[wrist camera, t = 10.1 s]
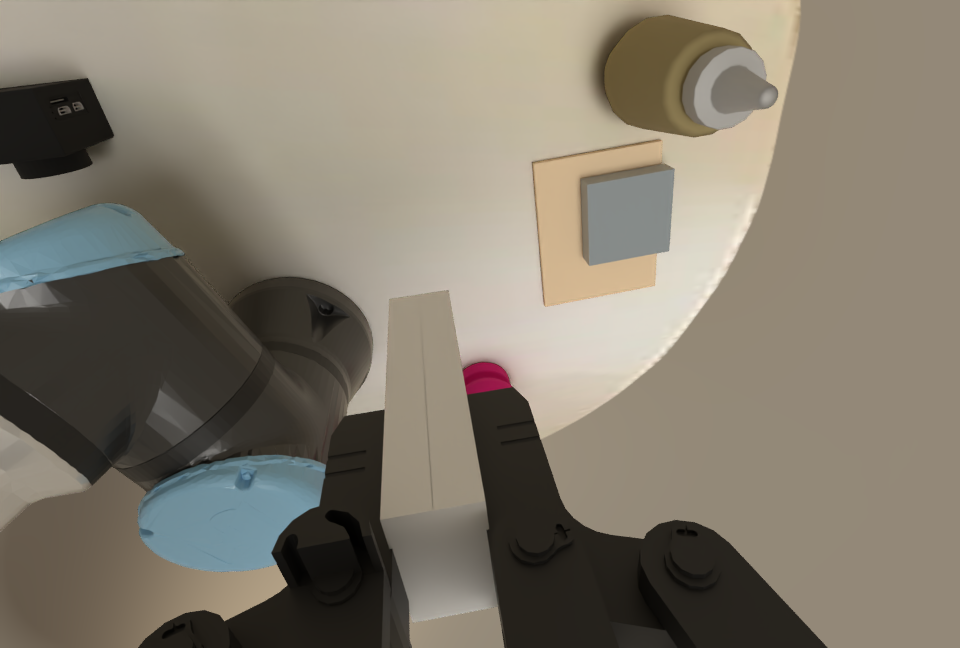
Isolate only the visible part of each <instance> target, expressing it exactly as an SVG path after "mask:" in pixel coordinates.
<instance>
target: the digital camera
mask: <svg viewBox="0 0 960 648" xmlns="http://www.w3.org/2000/svg"><path fill="white" fill-rule="evenodd" d="M113 136H114V134H113V132H112V130H111V127H110V125H109V123H108V121H107V119H106V117H105V114H104V112H103V110H102V108H101V106H100V104H99V102H98V99H97V97H96V95H95V93H94V91H93V89H92V86H91V84H90V82H89V80H88V78H86V79H77V80H69V81H60V82H52V83H43V84H35V85H26V86H18V87H10V88H1V89H0V165H1V164H9V163H13V164H14V166H15V168H16V170H17V171H18V173H19V175H20V177H21V178H22V179H35V178H43V177H49V176H55V175H60V174H64V173H68V172H73V171H76V170H79V169H82V168H85V167H88V166H90V165H92V164H93V163H92V161H91V159H90V157H89V155H88V153H87V151H86V149H85V148H87V147H90V146H92V145H95V144H97V143H100V142H102V141H105V140H107V139H110V138H112V137H113Z"/></svg>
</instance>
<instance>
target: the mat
mask: <svg viewBox="0 0 960 648" xmlns="http://www.w3.org/2000/svg"><path fill="white" fill-rule="evenodd" d="M662 142H663V141H662V140H655V141H649V142H643V143H638V144H632V145H627V146H621V147H616V148H610V149H605V150H599V151H593V152H588V153H582V154H577V155H571V156H566V157H560V158H555V159H549V160H543V161H538V162H532V166H533V178H534V190H535V202H536V214H537V226H538V238H539V250H540V262H541V274H542V286H543V298H544V305H545V307H547V306H552V305H557V304H563V303H568V302H573V301H578V300H583V299H589V298H594V297H599V296H604V295H609V294H615V293H620V292H625V291H630V290H635V289H641V288H646V287H651V286H655V276H656V257H657V253H656V254H651V255H645V256H640V257H635V258H630V259H624V260H619V261H614V262H608V263H603V264H598V265H593V266H589V265H588V264H587V262H586V261H585V260H584V258H583V242H582V212H581V182H580V179H582V178H588V177H593V176H599V175H604V174H610V173H615V172H621V171H626V170H632V169H637V168H643V167H648V166H654V165H659V164H661V161H662Z"/></svg>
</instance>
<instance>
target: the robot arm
mask: <svg viewBox="0 0 960 648" xmlns="http://www.w3.org/2000/svg"><path fill="white" fill-rule="evenodd" d="M184 255H185V253H184V252H183V251H182V250H180V249H179V248H175V247H173V246H172V245H171V244H170V243H169V242H168V241H167V240H166V239H165V238H164V237H163V236H162V235H161V234H160V233H159V232H158V231H157V230H156V229H155V228H154V227H153V226H152V225H151V224H150V223H149V222H148V221H147V220H146V219H145V218H144V217H143V216H142V215H141V214H140V213H138V212H137V211H135V210H133V209H131V208H129V207H127V206H124V205H121V204H115V203H101V204H96V205H92V206H89V207H86V208H83V209H80V210H77V211H74V212H71V213H68V214H66V215H63V216H61V217H58V218H55V219H53V220H50V221H48V222H45V223H43V224H40V225H38V226H35V227H33V228H30V229H28V230H25V231H23V232H20V233H18V234H16V235H13V236H11V237H9V238H6V239H4V240H1V241H0V532H1V531H2V530H3V529H4V528H5V527H6V526H7V525H8V524H9V523H10V522H12V521H13V520H14V519H15V518H16V517H17V516H18V515H19V514H20V513H21V512H22V511H23V510H24V509H26V508H27V507H28V506H29V505H30V504H32V503H34V502H36V501H39V500H41V499H43V498H48V497H54V496H61V495H67V494H72V493H79V492H85V491H86V490H87V489H89V488H90V487H91V486H92V485H93V484H94V483H95V482H96V481H97V480H98V479H99V478H100V477H101V476H103V475H104V474H105V473H106V472H107V471H108V470H109V468H111V467H113V468H115V469H117V470H118V471H119V472H121V473H122V474H124V475H125V476H126V477H128V478H129V479H131V480H132V481H133V482H134V483H136V484H138V485H139V486H140V487H141V488H143V489H144V490H145V491H146V492H147V493H146V495H145V496H144V497H143V498H142V500H141V502H140V505H139V507H138V514H139V516H138V525H139V527H140V529H139V535H140V537H141V539H142V541H143V542H144V543H145V545H146V546H147V547H148V548H150V549H151V550H152V551H153V552H154V553H155V554H157V555H159V556H160V557H162V558H164V559H166V560H168V561H170V562H172V563H175V564H178V565H181V566H184V567H188V568H193V569H198V570H204V571H214V572H229V571H249V570H256V569H261V568H265V567H269V566H273V565H276V564H277V565H278V567H279V569H280V571H281V573H282V575H283V577H284V578H285V580H286V582H287V584H288V585H287V586H286V587H285V588H284V589H283V590H282V591H281V592H279V593H278V594H276V595H274V596H273V597H271V598H269V599H268V600H266V601H264V602H262V603H260V604H259V605H256V606H254V607H252V608H250V609H248V610H246V611H244V612H242V613H240V614H238V615H236V616H235V617H232V618H230V619H229V620H226V621H224V620H223V619H222V618H221V616H220V615H218V614H215V613H211V612H209V611H205V610H202V611H196V612H189V613H185V614H182V615H180V616H178V617H176V618H174V619H172V620H170V621H168V622H166V623H164V624H163V625H162V626H161V627H159V628H158V629H157V630H156V631H154V632H153V633H152V634H151V635H150V636H148V637H147V638H146V639H145V640H144V641H143V642H142V644H141V645H140V646H139V647H138V648H412V646H411V644H410V640H409V612H410V615H411V618H412V622H413V623H414V622H420V621H425V620H430V619H436V618H440V617H446V616H451V615H456V614H462V613H466V612H472V611H477V610H482V609H488V608H492V607H498V609H499V615H500V621H501V627H502V634H503V640H504V647H505V648H827V647H826V646H825V644H824V643H823V642H822V641H821V640H820V639H819V638H818V637H817V636H816V635H815V634H814V633H813V632H812V631H811V630H810V628H809V627H808V626H807V625H806V624H805V623H804V622H803V621H802V620H801V619H800V618H799V617H798V616H797V615H796V614H795V612H793V610H792V609H791V608H790V607H789V606H788V605H787V604H786V603H785V602H784V601H783V600H782V599H781V598H780V597H779V595H777V593H776V592H775V591H774V590H773V589H772V588H771V587H770V586H769V585H768V584H767V583H766V581H765V580H764V579H763V578H762V577H761V576H760V575H759V574H758V573H757V572H756V571H755V570H754V569H753V568H752V567H751V566H750V564H749V563H748V562H747V561H746V560H745V559H744V558H743V557H742V556H741V555H740V554H739V553H738V552H737V551H736V549H734V547H733V546H732V545H731V544H730V543H729V542H727V541H726V540H725V539H724V538H722V537H721V536H720V535H718V534H717V533H716V532H715V531H714V530H711V529H709V528H707V527H704V526H702V525H700V524H697V523H695V522H687V521H679V520H674V521H670V522H665V523H661V524H658V525H657V526H656V527H654V528H653V529H652V530H650V531H649V532H648V533H647V534H646V536H645V538H644V539H639V538H631V537H623V536H615V535H609V534H604V533H600V532H596V531H594V530H592V529H590V528H588V527H585V526H584V525H582V524H581V523H580V522H578V521H577V520H575V519H574V518H573V517H572V516H571V515H570V513H569V512H568V511H567V510H566V509H565V507H564V505H563V503H562V501H561V499H560V496H559V493H558V490H557V487H556V484H555V481H554V478H553V475H552V472H551V469H550V466H549V463H548V460H547V457H546V454H545V451H544V448H543V445H542V442H541V440H540V437H539V433H538V430H537V427H536V424H535V422H534V418H533V415H532V412H531V409H530V406H529V403H528V401H527V400H526V399H525V398H524V397H523V396H522V395H521V394H520V393H519V392H518V391H517V390H516V389H515V388H513V387H510V388H504V389H497V390H491V391H485V392H479V393H473V394H467V393H466V388H465V382H464V376H463V371H462V365H461V359H460V354H459V348H458V342H457V337H456V331H455V325H454V319H453V314H452V308H451V302H450V297H449V291H448V290H447V291H440V292H433V293H427V294H420V295H413V296H407V297H400V298H393V299H389V321H388V345H387V368H386V391H385V410H379V411H373V412H367V413H361V414H355V415H349V416H347V407H348V404H349V402H350V401H351V399H352V398H353V396H354V395H355V393H356V392H357V391H358V390H359V388H360V387H361V386H362V384H363V383H364V381H365V380H366V378H367V375H368V373H369V370H370V367H371V361H372V351H373V339H372V334H371V330H370V327H369V324H368V322H367V320H366V318H365V317H364V315H363V314H362V312H361V311H360V310H359V308H358V307H357V306H356V305H355V304H354V303H353V302H352V301H351V300H350V299H348V298H347V297H346V296H345V295H343V294H342V293H340V292H339V291H337V290H335V289H333V288H331V287H329V286H327V285H324V284H322V283H319V282H316V281H312V280H307V279H301V278H277V279H271V280H266V281H263V282H260V283H257V284H254V285H252V286H250V287H248V288H247V289H245V290H243V291H242V292H241V293H239V294H238V295H237V296H236V297H235V298H234V299H233V300H232V301H231V302H230V303H229V305H227V304H226V303H225V301H224V300H223V299H222V298H221V297H220V296H219V295H218V294H217V293H216V291H215V290H214V289H213V288H212V287H211V286H210V285H209V284H208V283H207V281H206V280H205V279H204V278H203V277H202V276H201V275H200V274H199V273H198V272H197V270H196V269H195V268H194V267H193V266H192V265H191V264H190V263H189V262H188V260H187V259H186V258H185V257H184Z"/></svg>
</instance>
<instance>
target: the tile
mask: <svg viewBox="0 0 960 648" xmlns="http://www.w3.org/2000/svg"><path fill="white" fill-rule="evenodd" d="M580 182H581V212H582V242H583V258H584V260H585V261H586V262H587V264H588V265H589V266H593V265H598V264H603V263H608V262H614V261H619V260H624V259H630V258H635V257H640V256H645V255H651V254H656V253H661V252H666V251H669V244H670V229H671V214H672V199H673V184H674V168H672V167H670V166H668V165H666V164H659V165H654V166H648V167H643V168H637V169H632V170H626V171H621V172H615V173H610V174H604V175H599V176H593V177H588V178H582V179H580Z"/></svg>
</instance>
